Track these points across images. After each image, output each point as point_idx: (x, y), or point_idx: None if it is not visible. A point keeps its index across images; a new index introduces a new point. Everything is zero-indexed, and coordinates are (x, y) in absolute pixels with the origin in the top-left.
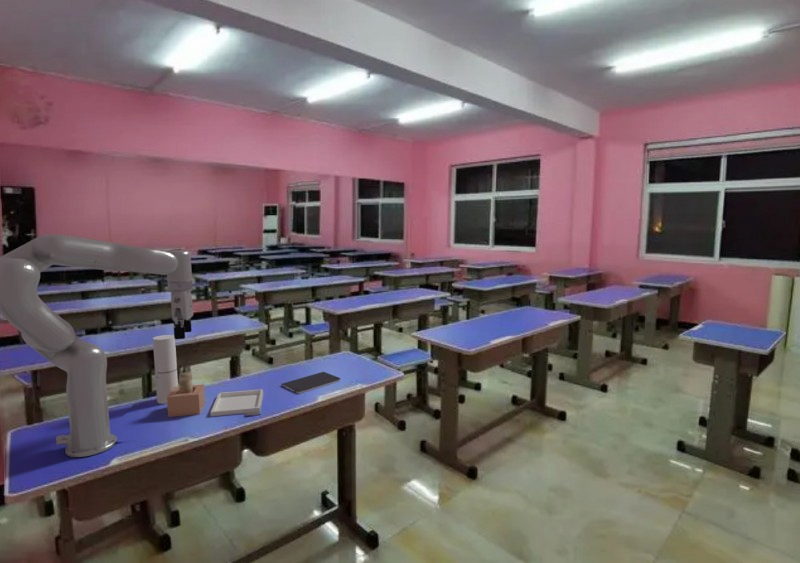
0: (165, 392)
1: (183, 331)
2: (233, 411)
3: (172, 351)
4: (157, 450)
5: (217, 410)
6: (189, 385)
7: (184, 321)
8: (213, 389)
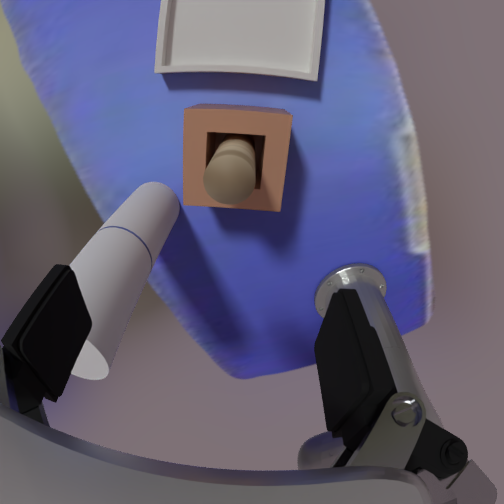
0: (169, 223)
1: (372, 349)
2: (322, 24)
3: (100, 280)
4: (422, 190)
5: (275, 64)
6: (250, 152)
7: (42, 384)
8: (84, 110)
